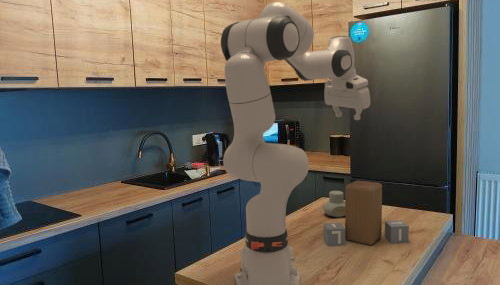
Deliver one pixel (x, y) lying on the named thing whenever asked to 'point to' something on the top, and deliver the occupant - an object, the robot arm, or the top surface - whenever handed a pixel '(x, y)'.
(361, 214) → the wooden block
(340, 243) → the cube seven
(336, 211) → the air freshener
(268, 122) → the robot arm
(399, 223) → the cube one
